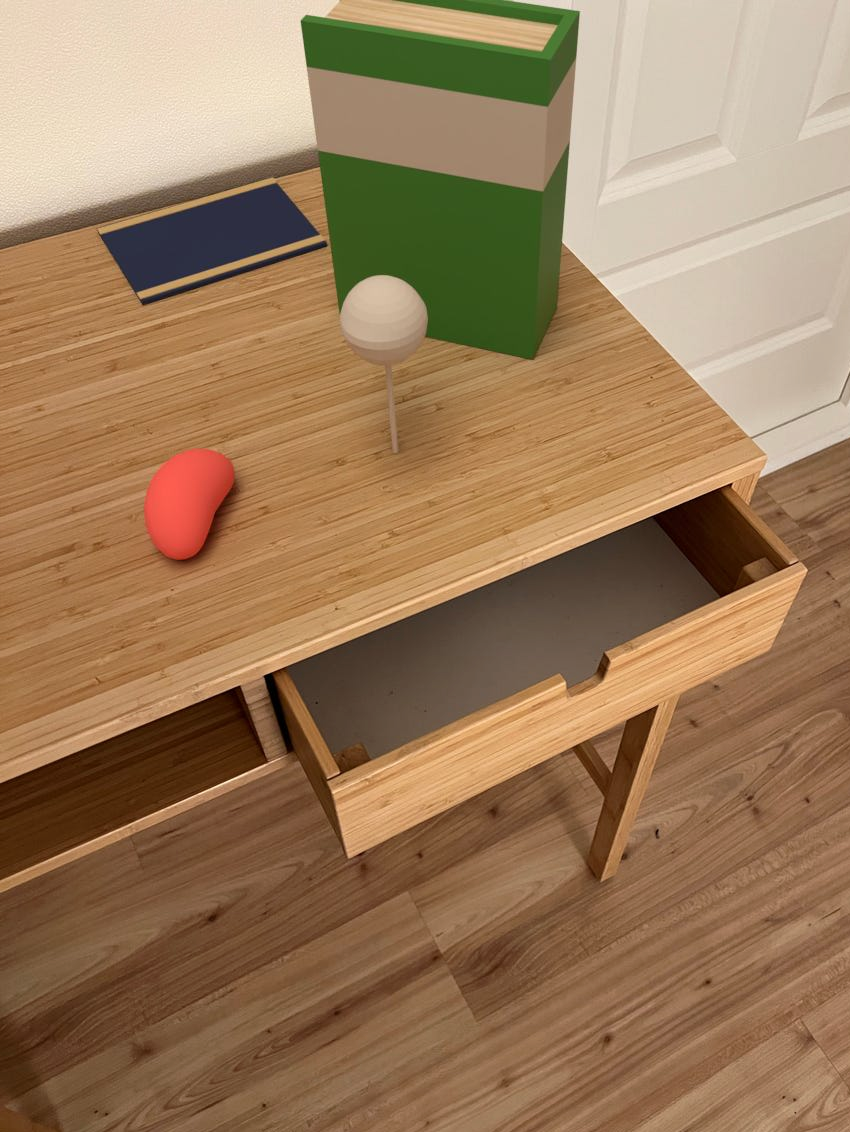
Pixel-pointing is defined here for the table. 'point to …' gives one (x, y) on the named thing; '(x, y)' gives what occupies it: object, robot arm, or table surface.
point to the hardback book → (448, 156)
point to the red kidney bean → (186, 500)
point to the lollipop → (384, 327)
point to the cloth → (209, 239)
